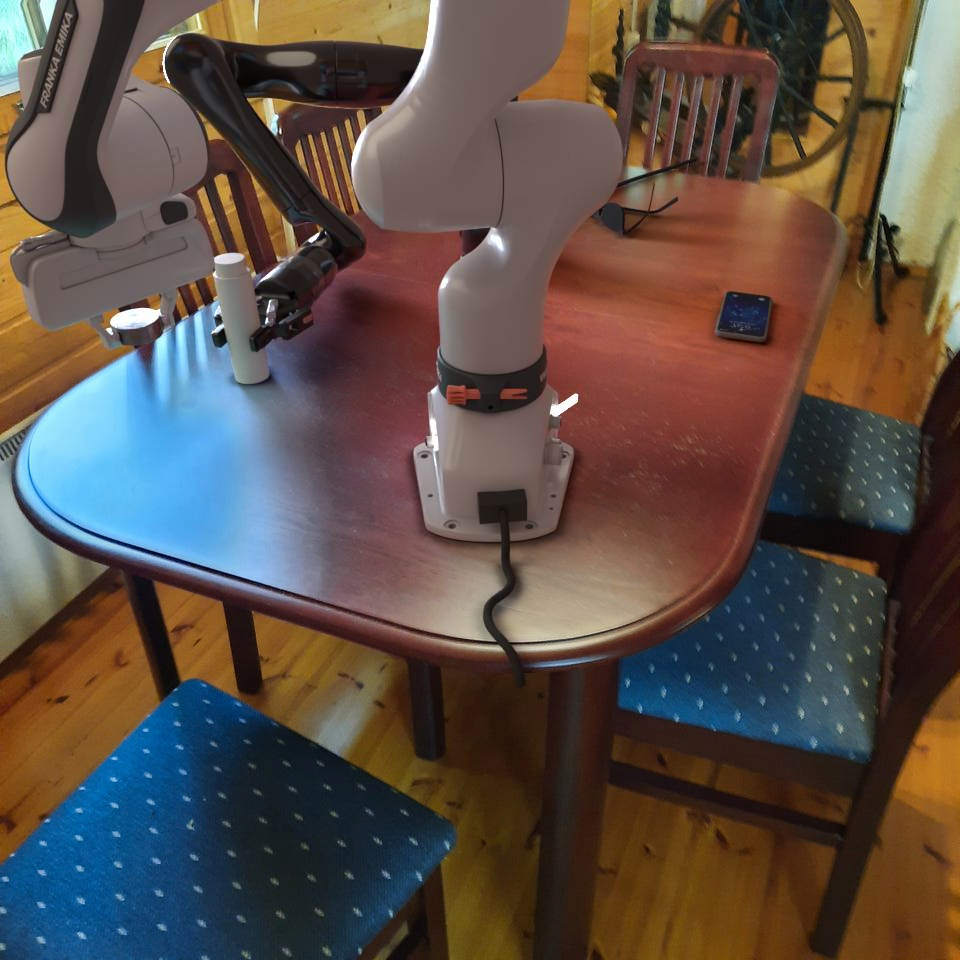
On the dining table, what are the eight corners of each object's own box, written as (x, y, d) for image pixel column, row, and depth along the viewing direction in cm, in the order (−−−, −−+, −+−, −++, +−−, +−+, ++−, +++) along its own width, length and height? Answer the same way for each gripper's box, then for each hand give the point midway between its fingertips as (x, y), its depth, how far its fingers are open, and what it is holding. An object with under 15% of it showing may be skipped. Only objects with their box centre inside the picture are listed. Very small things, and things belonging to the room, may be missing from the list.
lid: (104, 338, 96) (98, 322, 94) (142, 320, 99) (138, 303, 98) (135, 350, 93) (130, 333, 92) (174, 331, 97) (169, 314, 96)
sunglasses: (688, 228, 158) (691, 201, 155) (616, 238, 155) (618, 210, 152) (648, 199, 171) (651, 174, 168) (581, 208, 168) (582, 182, 165)
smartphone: (773, 295, 132) (766, 339, 121) (772, 301, 133) (765, 345, 121) (725, 289, 134) (713, 331, 123) (724, 295, 135) (712, 337, 123)
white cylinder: (276, 370, 119) (255, 253, 109) (257, 386, 115) (234, 267, 105) (247, 365, 120) (223, 249, 110) (228, 381, 116) (202, 263, 107)
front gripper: (17, 254, 80) (63, 381, 89) (207, 197, 92) (232, 314, 100) (-10, 236, 84) (37, 360, 92) (177, 184, 95) (204, 298, 104)
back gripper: (241, 261, 124) (178, 312, 111) (332, 270, 121) (279, 322, 108) (251, 309, 129) (191, 363, 116) (339, 318, 125) (288, 374, 112)
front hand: (140, 336), depth 96 cm, fingers closed on lid, 5 cm apart
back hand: (234, 343), depth 112 cm, fingers closed on white cylinder, 4 cm apart
